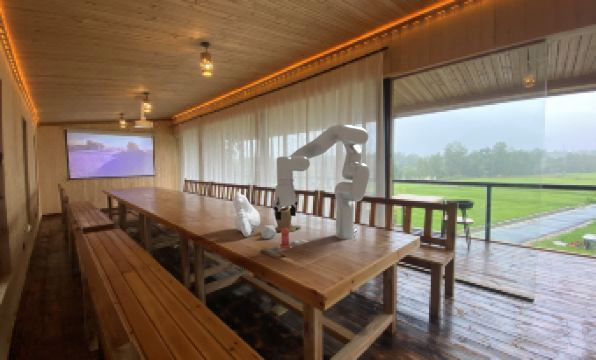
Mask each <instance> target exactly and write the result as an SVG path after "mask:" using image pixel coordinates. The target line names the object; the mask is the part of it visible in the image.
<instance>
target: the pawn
mask: <svg viewBox="0 0 596 360" xmlns="http://www.w3.org/2000/svg"><path fill="white" fill-rule="evenodd" d="M280 233H281V234H280V235H281V238H280V239H281V241H280V242H281V243H280V244H279V246H280V249H281V248H283V249H282V250H284V249H286V250H288V249H287V248H289V249H291V248H290V244H289V243H290V232H289V229H288V228H286V227H285V228H283V229H282V230H281V232H280Z"/></svg>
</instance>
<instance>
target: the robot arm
mask: <svg viewBox="0 0 596 360" xmlns="http://www.w3.org/2000/svg"><path fill="white" fill-rule="evenodd" d="M368 140H369V133H368V131H367V130H366V129H365V128H363V127H359V126H354V125H350V124H343V123H342V124H335V125H331V126H330V127H328V128H327V129H325V130H324V131H323V132H322V133H320V134H319V135H318V136H317V137H316V138H314V139H313V140H311V141H309V142H308V143H306V144H304V145H303V146H301V147H300V148H298V149H297V150H295V151H294V152H293V153H291V154H290V155H289V156H278V157H277V158H276V184H277V185H276V186H275V189H274V200H272V202H270V205H271V207H272V209H273V210H274V211H276V219H277V220H281V211H280V210H281V208H284V207H289V206H290V207H289V208H290V215H291V216H292V217H296V215H297V214H296V210H297V209H296V208H297V206H298V205H299V204H298V203H299V198H300V197H297V196H296V191H295V190H296V189H295V186H294V173H293V172H305V171H307V170H308V169H309V167H310V164H311V163H310V162H311V161H310V159H312V158H315V157H319V156H322V155H323V154H325V153H326V152H327V151H328V150H329V149H330V148H332V147H333V146H334V145H335V144H337V143H339V142H341V143H342V145H343V146H344V149H345V152H346V154H345V158H344V163H343V166H342V171H341V176H342V177H343V178H344V179H345V180H349V181H340V182H338V183H337V184H336V186H335V187H334V197H335V203H336V204H335V207H336V209H335V211H336V212H335V234H334V235H333V237H336V238H337V239H341V240H350V241H354V242H355V241H356V240H357V236H356V235H355V233H357V232H358V231H357V229H356V228H355V229H354V217H355V215H354V214H355V213H354V212H355V206H354V202H357V203H358V202H361V201H362V200H363V198H364V197H365V194H366V190H367V187H368V184H369V183H368V182H369V178H370V169H369V166H368V165H367V164H365V163H363V162H362V157H363V154H362V153H363V152H362V149H361V147H360V146H362V145H365V144H366V143H367V142H368ZM350 181H352V182H350ZM274 211H273V212H274ZM276 219H275V220H276Z"/></svg>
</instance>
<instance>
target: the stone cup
mask: <svg viewBox="0 0 596 360" xmlns="http://www.w3.org/2000/svg"><path fill="white" fill-rule="evenodd" d="M290 208H291V207H289V206H285V207H282V208H281V210H280V211H281V220H277V219H276V211H273V212H274V213H273V214H274V219H275V221H276V224H277V225H276V227H275V230H276V233H279V232H280V233H281V230H282V229H283V228H285V227H286V228H288V229H289V233H294V232H297V231H299V230H301V228H302V226H298V225H293V224H292V217H293V216H291V215H290Z"/></svg>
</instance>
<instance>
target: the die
mask: <svg viewBox="0 0 596 360" xmlns="http://www.w3.org/2000/svg"><path fill="white" fill-rule="evenodd" d="M275 228H276V227H275V224H273V225H270V224H269V225H267V224H265V225H263V227H262V230H261V231H260V234H261V237H262V239H265V240H273V239H275V238H276V236H277V233H278V232H277V231H276V230H275Z"/></svg>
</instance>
